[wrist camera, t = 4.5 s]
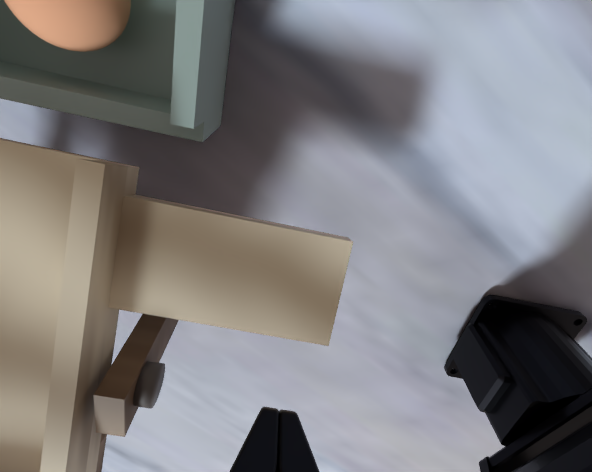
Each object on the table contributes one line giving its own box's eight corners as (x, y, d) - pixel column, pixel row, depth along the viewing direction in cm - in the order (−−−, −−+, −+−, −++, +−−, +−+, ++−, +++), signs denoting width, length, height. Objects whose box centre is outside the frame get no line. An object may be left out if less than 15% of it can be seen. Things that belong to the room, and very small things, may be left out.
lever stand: (203, 298, 22) (140, 455, 13) (15, 264, 21) (-183, 410, 12) (210, 242, 20) (143, 381, 11) (4, 202, 19) (-236, 321, 10)
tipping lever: (271, 521, 18) (269, 667, 12) (-47, 479, 16) (-200, 623, 11) (343, 207, 15) (379, 222, 10) (-20, 131, 14) (-199, 102, 9)
